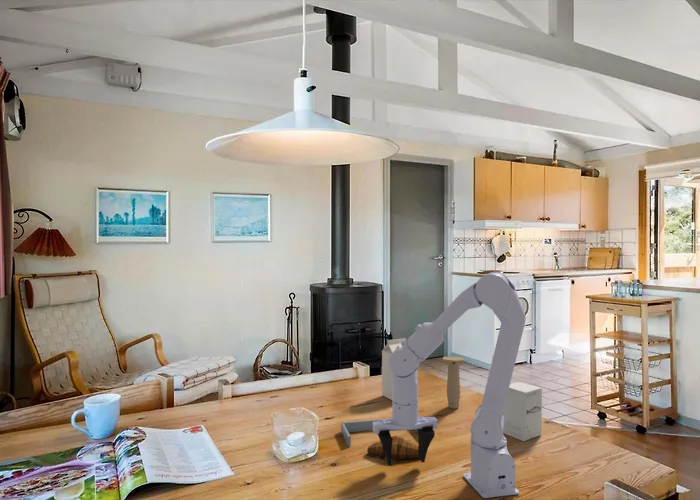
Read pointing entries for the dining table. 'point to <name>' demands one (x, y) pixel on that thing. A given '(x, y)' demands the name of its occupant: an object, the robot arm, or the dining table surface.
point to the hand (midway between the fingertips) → (405, 462)
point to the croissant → (395, 449)
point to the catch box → (357, 428)
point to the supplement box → (523, 411)
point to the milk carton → (386, 370)
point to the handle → (453, 380)
